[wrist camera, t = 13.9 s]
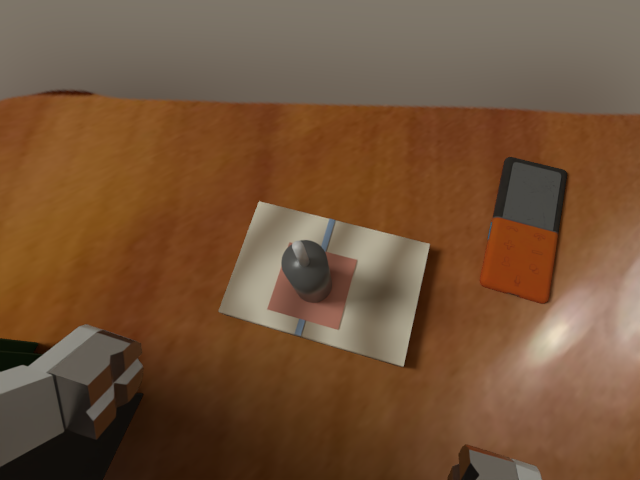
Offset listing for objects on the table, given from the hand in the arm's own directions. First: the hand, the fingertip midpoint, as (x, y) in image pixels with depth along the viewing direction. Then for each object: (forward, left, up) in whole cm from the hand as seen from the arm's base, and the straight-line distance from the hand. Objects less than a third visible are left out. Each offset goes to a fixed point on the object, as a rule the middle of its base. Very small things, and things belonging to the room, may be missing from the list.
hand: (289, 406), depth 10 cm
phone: (-15, -20, -30) cm, 39 cm away
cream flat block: (+3, -9, -29) cm, 31 cm away
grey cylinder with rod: (+4, -8, -27) cm, 29 cm away
